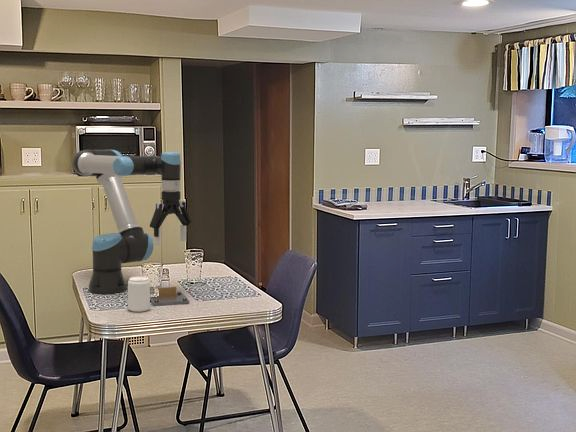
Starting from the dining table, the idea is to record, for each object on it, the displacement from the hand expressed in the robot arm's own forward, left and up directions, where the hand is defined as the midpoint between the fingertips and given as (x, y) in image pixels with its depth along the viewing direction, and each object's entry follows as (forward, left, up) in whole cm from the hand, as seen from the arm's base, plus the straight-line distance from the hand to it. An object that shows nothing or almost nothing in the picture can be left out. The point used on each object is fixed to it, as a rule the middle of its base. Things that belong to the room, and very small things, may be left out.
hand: (170, 243), depth 284 cm
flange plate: (-2, -7, -22) cm, 23 cm away
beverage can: (-15, -18, -22) cm, 33 cm away
